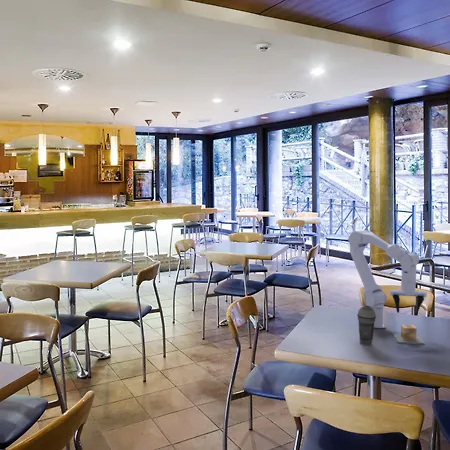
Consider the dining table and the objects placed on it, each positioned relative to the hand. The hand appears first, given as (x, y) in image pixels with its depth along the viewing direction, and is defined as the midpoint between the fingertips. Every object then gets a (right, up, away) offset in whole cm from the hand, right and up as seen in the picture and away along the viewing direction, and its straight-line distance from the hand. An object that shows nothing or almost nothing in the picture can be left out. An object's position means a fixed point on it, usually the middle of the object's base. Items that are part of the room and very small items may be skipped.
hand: (407, 312), depth 201 cm
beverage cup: (-21, -11, -12) cm, 27 cm away
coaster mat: (-2, -10, -7) cm, 12 cm away
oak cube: (-2, -9, -7) cm, 12 cm away
